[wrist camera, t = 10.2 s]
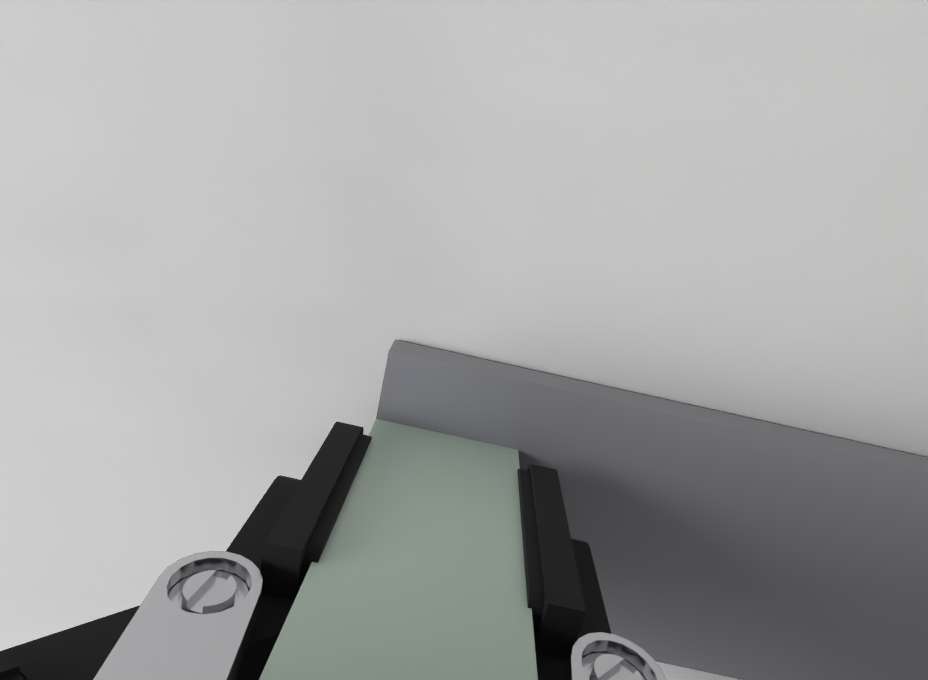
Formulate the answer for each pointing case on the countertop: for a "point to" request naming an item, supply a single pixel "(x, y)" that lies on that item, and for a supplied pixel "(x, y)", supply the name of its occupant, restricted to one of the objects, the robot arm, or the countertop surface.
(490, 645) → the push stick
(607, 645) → the robot arm
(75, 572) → the countertop surface
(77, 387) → the countertop surface
